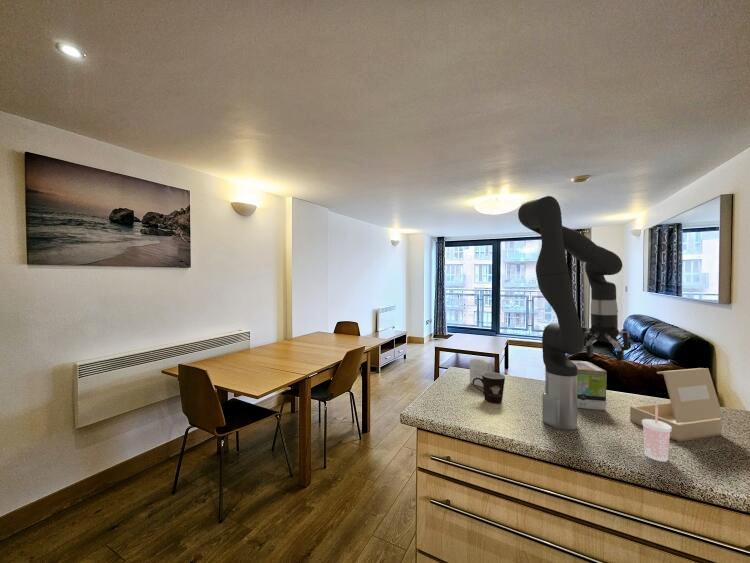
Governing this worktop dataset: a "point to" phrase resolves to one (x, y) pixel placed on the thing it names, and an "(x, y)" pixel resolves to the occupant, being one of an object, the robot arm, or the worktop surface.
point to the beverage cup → (656, 438)
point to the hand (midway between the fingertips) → (604, 358)
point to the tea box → (590, 386)
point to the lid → (692, 394)
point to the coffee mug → (492, 386)
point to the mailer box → (679, 430)
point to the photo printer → (479, 369)
